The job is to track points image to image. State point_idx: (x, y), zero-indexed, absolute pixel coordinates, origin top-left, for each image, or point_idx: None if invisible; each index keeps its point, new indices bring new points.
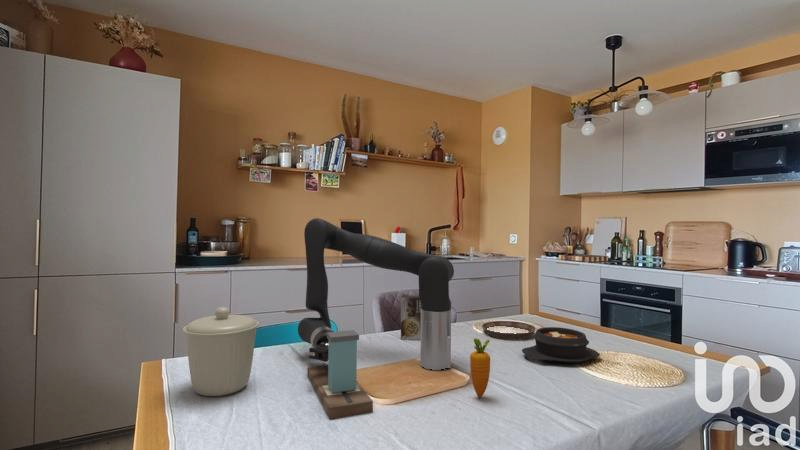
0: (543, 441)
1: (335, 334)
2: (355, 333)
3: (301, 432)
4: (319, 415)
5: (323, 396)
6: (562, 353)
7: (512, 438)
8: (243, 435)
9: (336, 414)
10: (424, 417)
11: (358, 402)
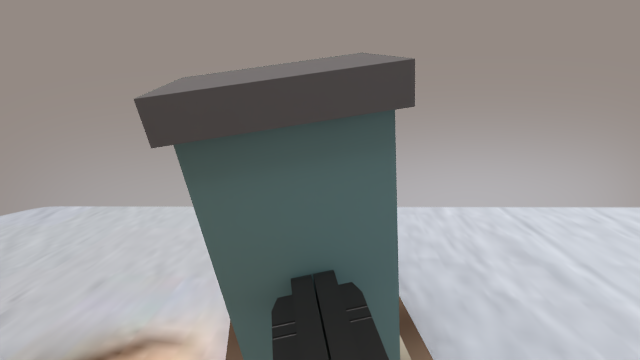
0: (51, 209)
1: (332, 62)
2: (185, 80)
3: (431, 230)
4: (407, 291)
5: (406, 311)
6: None
7: (78, 213)
8: (571, 225)
9: None
10: (139, 267)
11: None
